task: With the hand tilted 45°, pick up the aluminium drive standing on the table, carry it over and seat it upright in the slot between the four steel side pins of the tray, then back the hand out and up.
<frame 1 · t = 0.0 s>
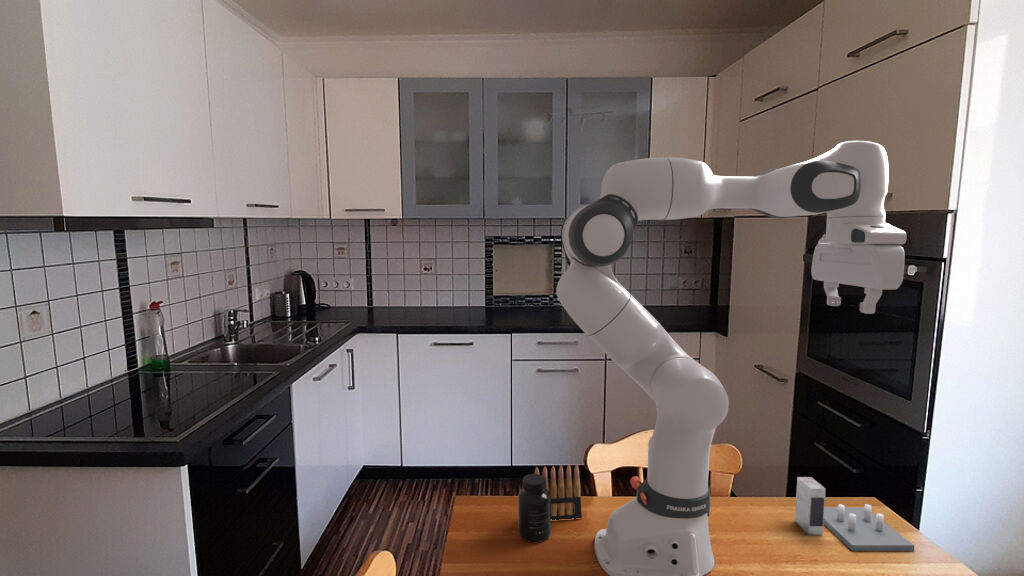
hand: (849, 309, 94), 48 cm above the table, tool pointing down, fingers open, 8 cm apart
drive: (808, 527, 108), on the table
pin tray: (859, 530, 107), on the table
supplement bottle: (534, 535, 106), on the table
ammunition clip: (556, 520, 112), on the table
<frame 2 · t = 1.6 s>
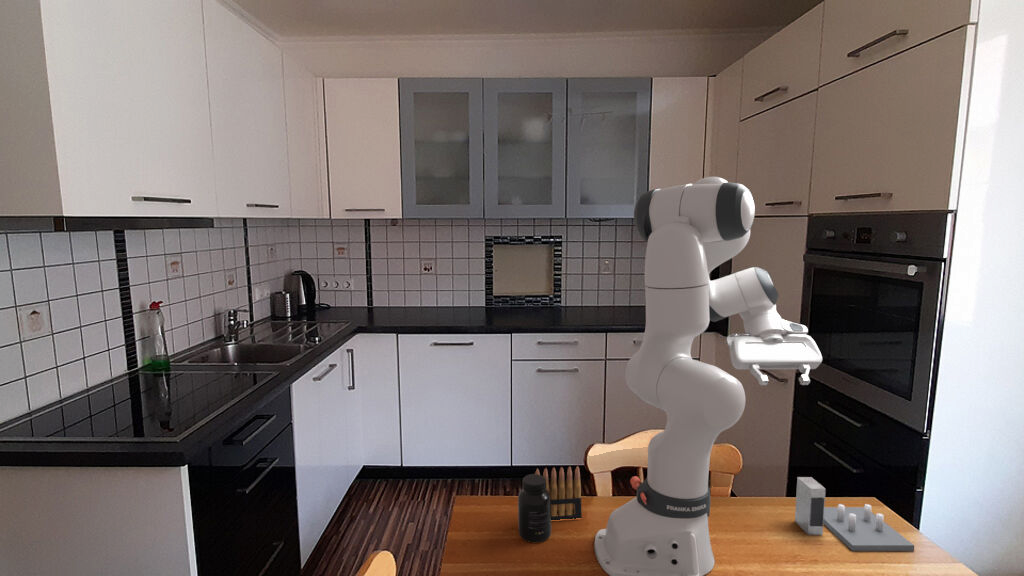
hand: (785, 383, 117), 28 cm above the table, tool tilted 45°, fingers open, 8 cm apart
nothing on the table moved.
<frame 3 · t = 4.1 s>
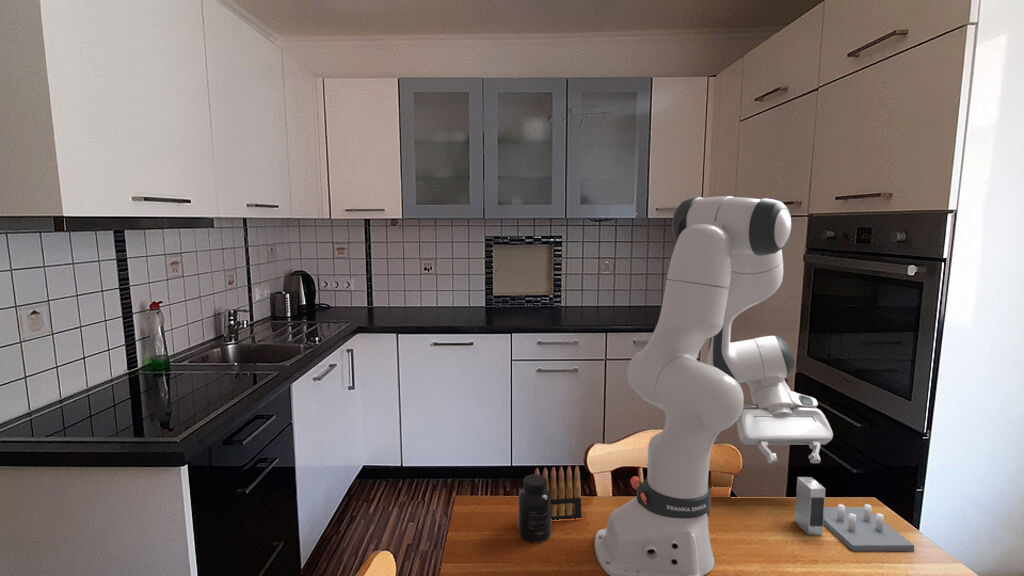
hand: (794, 462, 113), 11 cm above the table, tool tilted 45°, fingers open, 8 cm apart
nothing on the table moved.
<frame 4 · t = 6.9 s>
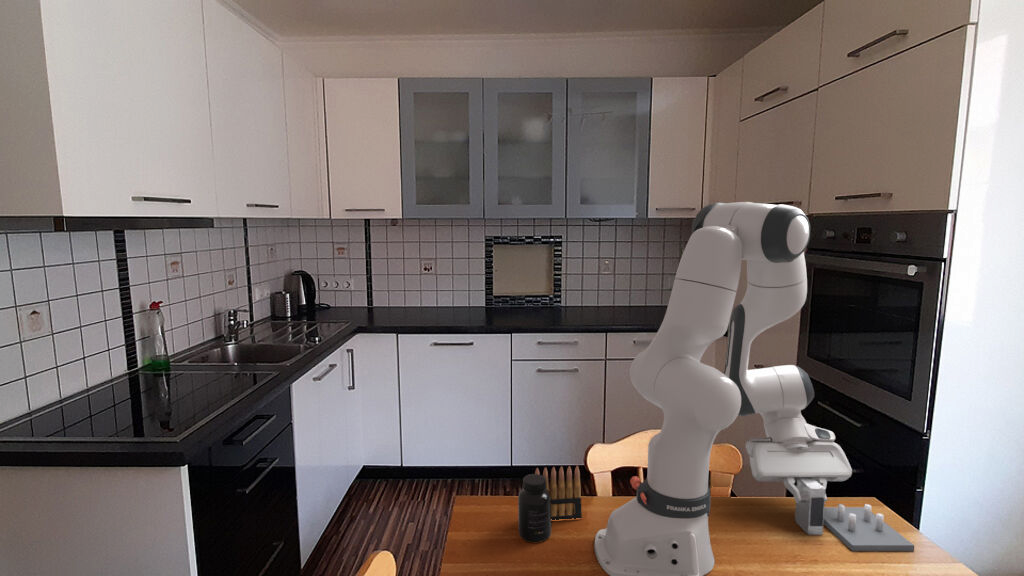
hand: (811, 501, 107), 6 cm above the table, tool tilted 45°, fingers closed on drive, 3 cm apart
drive: (808, 527, 108), on the table, touching gripper
everything else where it was.
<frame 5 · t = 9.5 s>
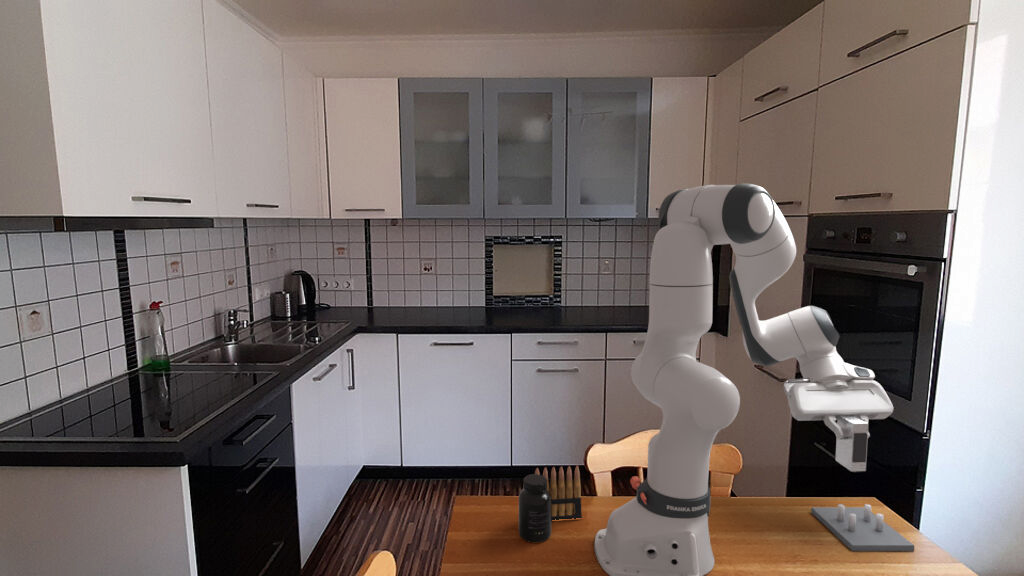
hand: (854, 438, 105), 20 cm above the table, tool tilted 45°, fingers closed on drive, 3 cm apart
drive: (850, 465, 106), point 14 cm above the table, touching gripper
everything else where it was.
when the fingers open (9 cm above the table, at t = 12.5 s): drive drops 1 cm, resting on pin tray.
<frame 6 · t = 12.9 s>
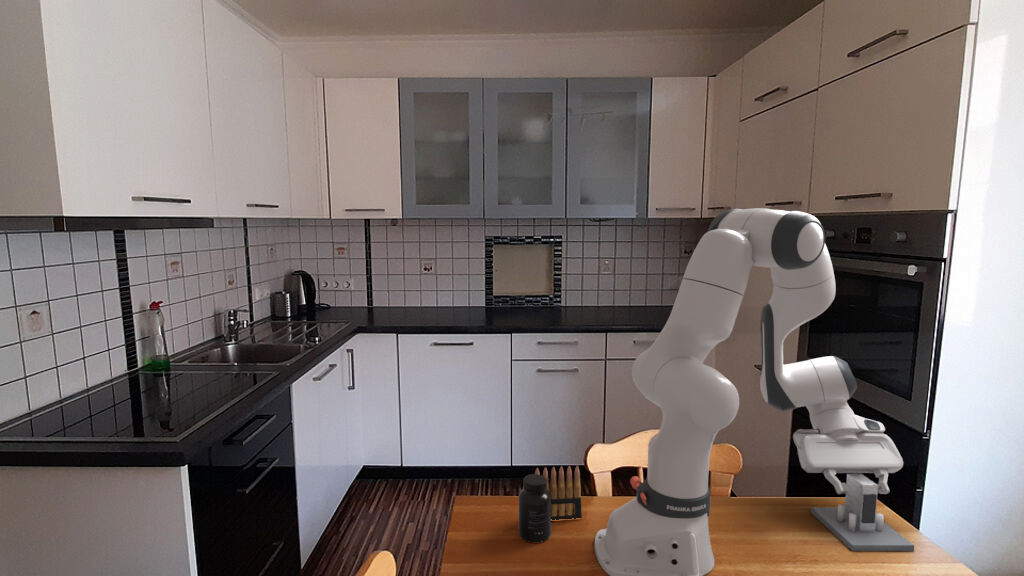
hand: (863, 493, 105), 9 cm above the table, tool tilted 45°, fingers open, 7 cm apart
drive: (858, 525, 107), point 1 cm above the table, touching pin tray
everything else where it was.
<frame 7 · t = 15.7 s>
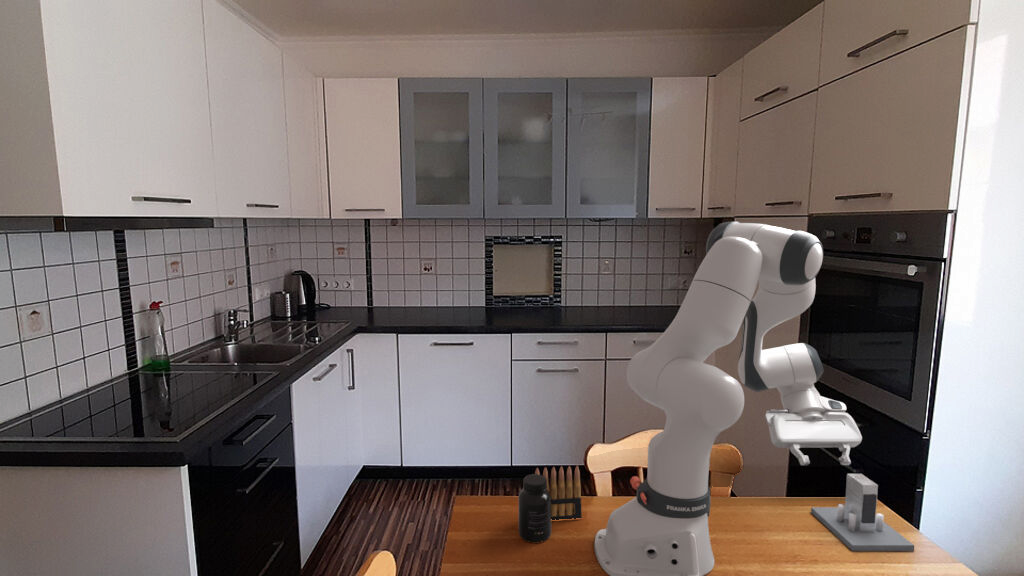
hand: (826, 464, 118), 9 cm above the table, tool tilted 45°, fingers open, 8 cm apart
nothing on the table moved.
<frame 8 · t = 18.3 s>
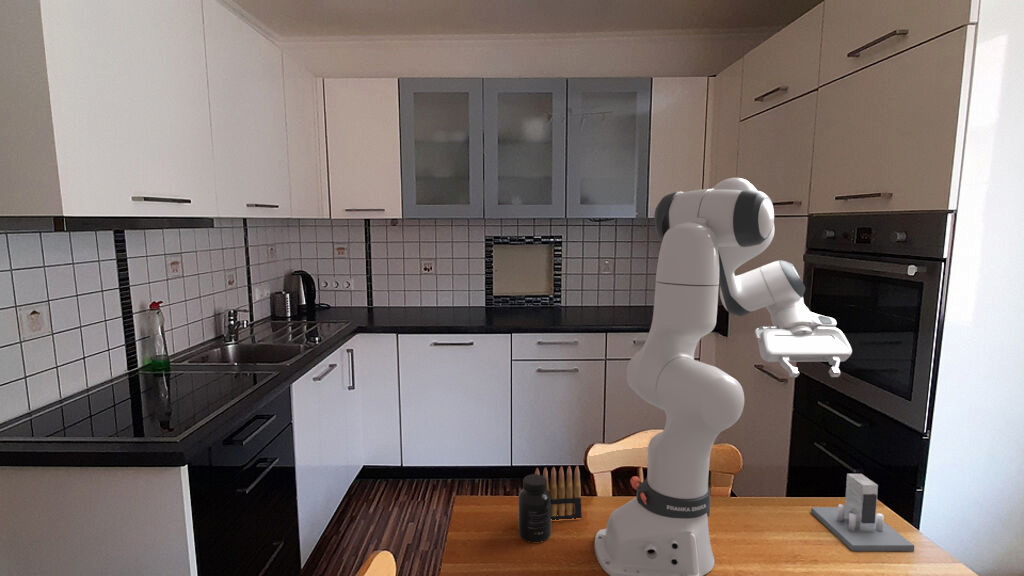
hand: (815, 375, 117), 29 cm above the table, tool tilted 45°, fingers open, 8 cm apart
nothing on the table moved.
at the end: drive 0.1 cm off-centre on the pin tray, point 1.2 cm above the pin tray's base; drive tilted 0°; the gripper is holding nothing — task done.
